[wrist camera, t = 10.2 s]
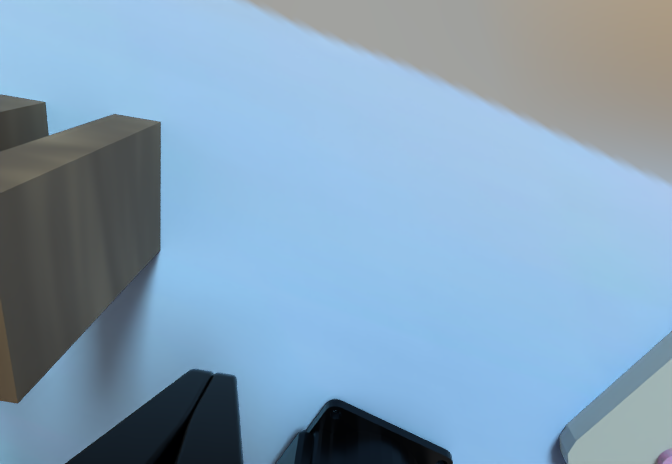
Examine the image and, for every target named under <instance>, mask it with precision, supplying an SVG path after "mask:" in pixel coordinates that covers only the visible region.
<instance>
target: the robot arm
mask: <svg viewBox="0 0 672 464" xmlns="http://www.w3.org/2000/svg"><path fill="white" fill-rule="evenodd" d="M335 410H336V411H339V412H333V411H335ZM65 464H243V454H242V441H241V429H240V416H239V404H238V391H237V380H236V377H235V376H234V375H229V374H223V373H215V374H213V373H212V372H211V371H205V370H199V369H192V370H190V371H188V372H187V373H186V374H184V375H183V376H182V377H180V378H179V379H178V380H176V381H175V382H174V383H172V384H171V385H169V386H168V387H167V388H165V389H164V390H163V391H161V392H160V393H159V394H157V395H156V396H155V397H153V398H152V399H151V400H149V401H148V402H147V403H145V404H144V405H143V406H141V407H140V408H139V409H137V410H136V411H135V412H133V413H132V414H131V415H129V416H128V417H127V418H125V419H124V420H123V421H121V422H120V423H119V424H117V425H116V426H115V427H113V428H112V429H111V430H109V431H108V432H107V433H105V434H104V435H103V436H101V437H100V438H99V439H97V440H96V441H95V442H93V443H92V444H91V445H89V446H88V447H87V448H85V449H84V450H83V451H81V452H80V453H79V454H77V455H76V456H75V457H73V458H72V459H71V460H69V461H68V462H67V463H65ZM276 464H453V461H452V456H451V454H450V452H449V451H447V450H446V449H444V448H441V447H439V446H437V445H435V444H433V443H431V442H429V441H426V440H424V439H422V438H420V437H418V436H416V435H414V434H412V433H409V432H407V431H405V430H403V429H401V428H399V427H397V426H395V425H392V424H390V423H388V422H386V421H384V420H382V419H380V418H378V417H375V416H373V415H371V414H369V413H367V412H365V411H363V410H361V409H358V408H356V407H354V406H352V405H350V404H348V403H346V402H344V401H341V400H338V399H337V400H331V401H329V402H327V403H326V405H325V406H324V407H323V409H322V410H321V411H320V413H319V414H318V416H317V417H316V418H315V420H314V421H313V422H312V424H311V425H310V426H309V428H308V429H307V430H306V431H305V430H304V431H302V432H300V433H298V434H297V436H296V437H295V438H294V440H293V441H292V443H291V444H290V445H289V447H288V448H287V449H286V451H285V452H284V454H283V455H282V456H281V458H280V459H279V460H278V462H277V463H276Z"/></svg>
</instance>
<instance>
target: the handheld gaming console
mask: <svg viewBox="0 0 672 464" xmlns="http://www.w3.org/2000/svg"><path fill="white" fill-rule="evenodd" d="M559 440H560V451H561V453H562V455H563V457H564V459H565V462H566V464H672V331H671V332H670V333H669V334H668V335H667V336H665V337H664V338H663V339H662V340H661V341H660V342H659V343H658V344H656V345H655V346H654V347H653V348H652V349H651V350H650V351H649V352H647V353H646V354H645V355H644V356H643V357H642V358H641V359H640V360H638V361H637V362H636V363H635V364H634V365H633V366H632V367H631V368H630V369H628V370H627V371H626V372H625V373H624V374H623V375H622V376H621V377H619V378H618V379H617V380H616V381H615V382H614V383H613V384H612V385H610V386H609V387H608V388H607V389H606V390H605V391H604V392H603V393H601V394H600V395H599V396H598V397H597V398H596V399H595V400H594V401H592V402H591V403H590V404H589V405H588V406H587V407H586V408H585V409H583V410H582V411H581V412H580V413H579V414H578V415H577V416H576V417H574V418H573V419H572V420H571V421H570V422H569V423H568V424H567V425H566V427H565V428H564V430H563V431H562V433H561V435H560V436H559Z"/></svg>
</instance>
